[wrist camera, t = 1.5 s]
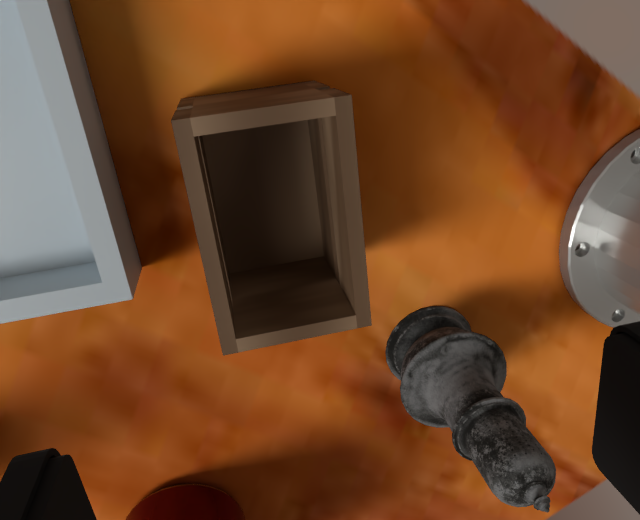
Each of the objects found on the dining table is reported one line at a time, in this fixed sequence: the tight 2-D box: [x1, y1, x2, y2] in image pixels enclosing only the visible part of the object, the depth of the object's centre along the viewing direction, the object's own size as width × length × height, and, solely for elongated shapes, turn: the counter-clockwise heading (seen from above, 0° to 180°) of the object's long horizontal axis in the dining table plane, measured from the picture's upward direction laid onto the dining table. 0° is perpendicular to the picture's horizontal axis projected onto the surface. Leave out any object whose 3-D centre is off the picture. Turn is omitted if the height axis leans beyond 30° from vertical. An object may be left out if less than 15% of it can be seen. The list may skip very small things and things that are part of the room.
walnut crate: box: [171, 81, 372, 355], centre depth 23 cm, size 6×9×7 cm, turn 6°
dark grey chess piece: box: [386, 306, 556, 512], centre depth 26 cm, size 6×6×12 cm
